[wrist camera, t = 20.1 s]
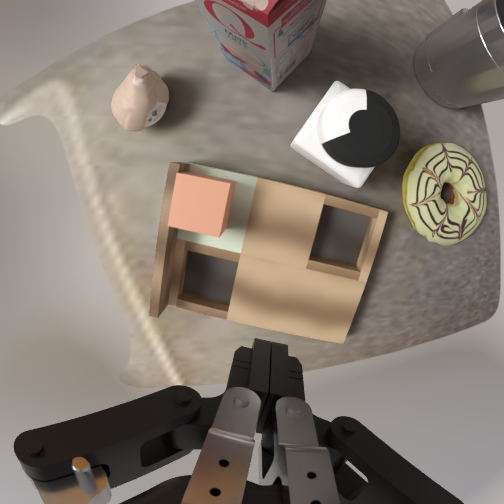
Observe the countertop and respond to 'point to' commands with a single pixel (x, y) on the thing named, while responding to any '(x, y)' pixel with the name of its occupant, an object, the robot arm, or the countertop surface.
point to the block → (201, 203)
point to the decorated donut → (429, 190)
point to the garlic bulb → (140, 99)
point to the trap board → (270, 258)
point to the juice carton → (264, 34)
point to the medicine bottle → (349, 134)
